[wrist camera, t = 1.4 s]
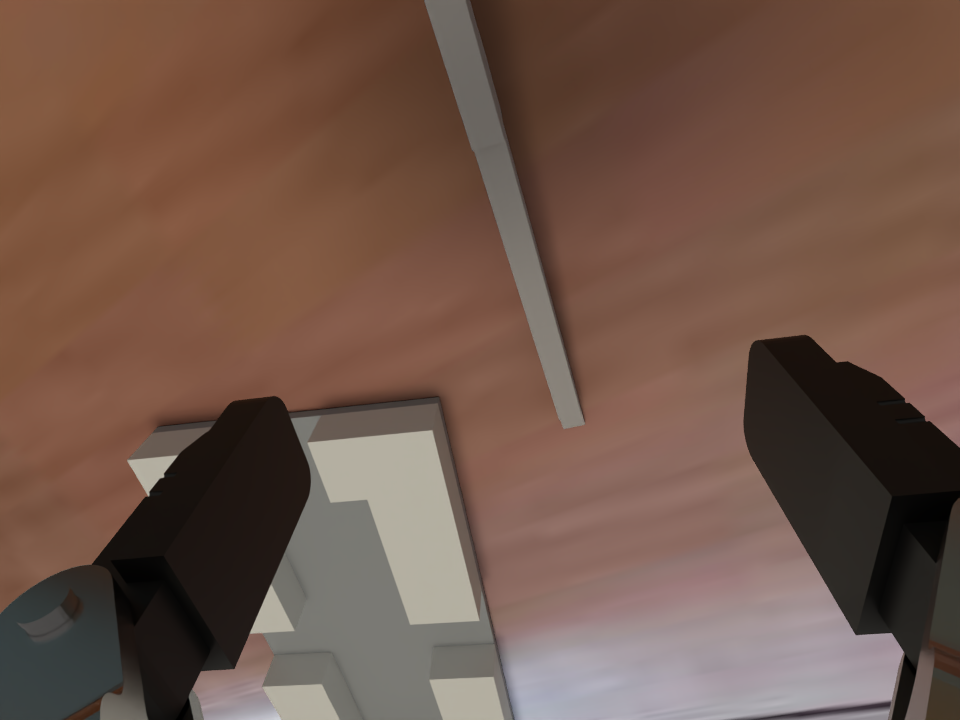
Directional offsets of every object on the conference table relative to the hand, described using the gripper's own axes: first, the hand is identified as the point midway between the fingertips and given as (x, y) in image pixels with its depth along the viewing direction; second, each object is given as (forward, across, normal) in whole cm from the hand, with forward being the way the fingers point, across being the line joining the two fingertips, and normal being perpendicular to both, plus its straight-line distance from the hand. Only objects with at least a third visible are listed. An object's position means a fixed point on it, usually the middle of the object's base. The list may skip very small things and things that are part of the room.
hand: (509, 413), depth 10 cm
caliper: (+14, 0, 0) cm, 14 cm away
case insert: (+13, +11, +23) cm, 29 cm away
